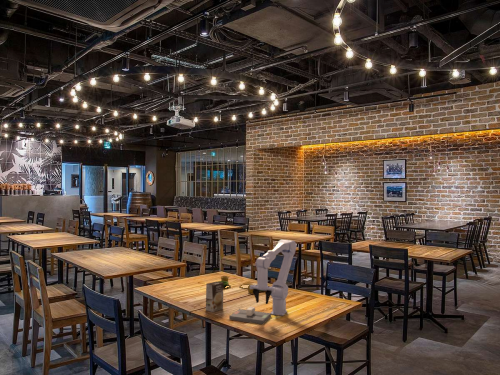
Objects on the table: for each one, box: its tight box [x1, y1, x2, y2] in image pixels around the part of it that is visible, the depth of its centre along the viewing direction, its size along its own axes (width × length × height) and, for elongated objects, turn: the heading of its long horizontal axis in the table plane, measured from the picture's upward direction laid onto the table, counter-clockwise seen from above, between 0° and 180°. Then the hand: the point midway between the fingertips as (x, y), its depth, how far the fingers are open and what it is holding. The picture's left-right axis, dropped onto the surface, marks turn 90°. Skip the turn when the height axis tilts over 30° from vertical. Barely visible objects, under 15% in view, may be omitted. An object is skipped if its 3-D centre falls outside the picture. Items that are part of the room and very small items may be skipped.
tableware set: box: [217, 275, 265, 297], centre depth 292 cm, size 41×28×6 cm
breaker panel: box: [229, 308, 272, 325], centre depth 223 cm, size 20×14×2 cm
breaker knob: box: [245, 306, 256, 316], centre depth 223 cm, size 3×6×3 cm, turn 158°
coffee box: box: [205, 281, 224, 313], centre depth 238 cm, size 9×6×16 cm
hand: (262, 303), depth 220 cm, fingers open, 5 cm apart
